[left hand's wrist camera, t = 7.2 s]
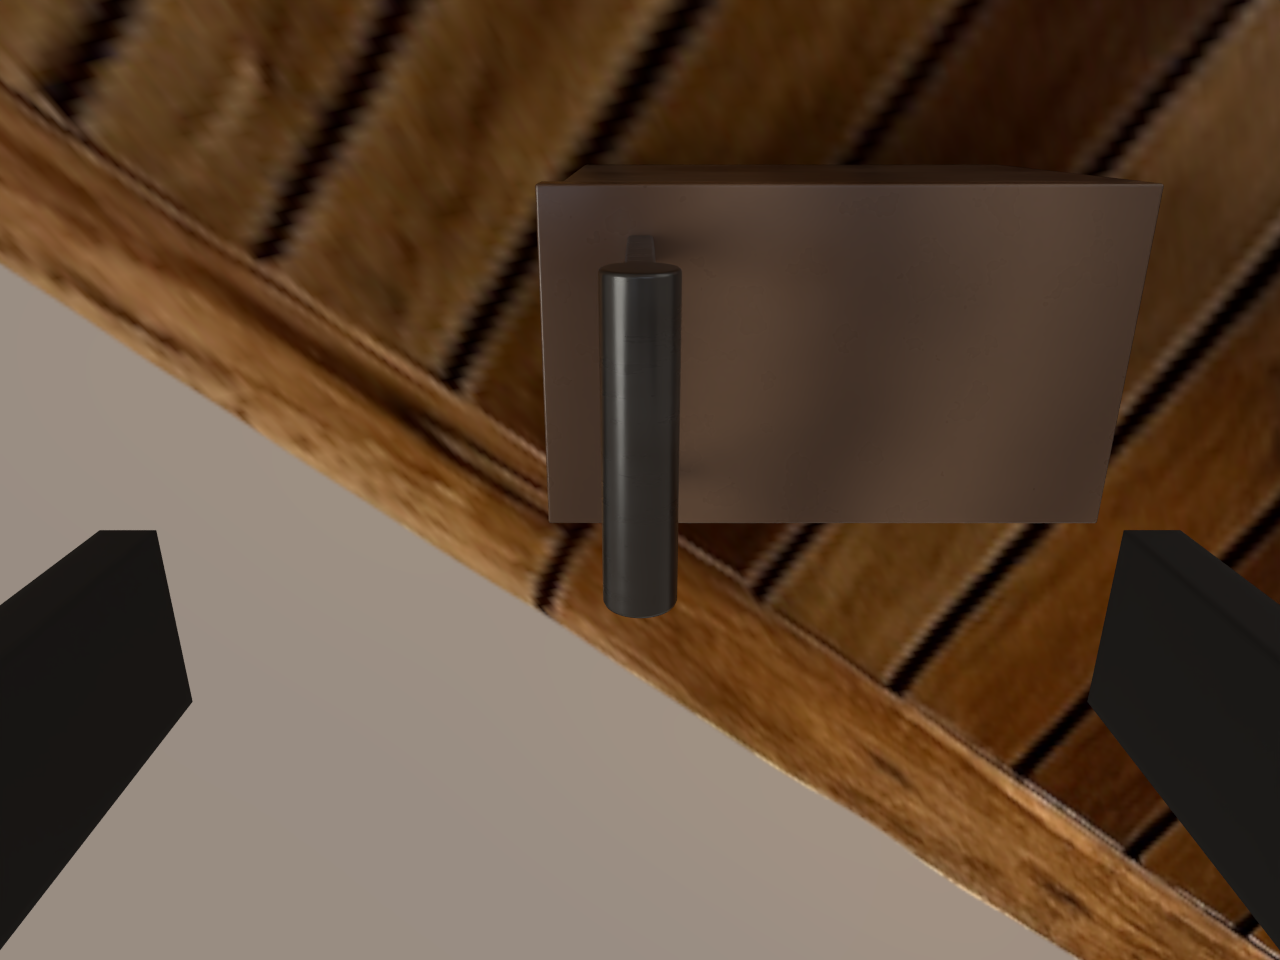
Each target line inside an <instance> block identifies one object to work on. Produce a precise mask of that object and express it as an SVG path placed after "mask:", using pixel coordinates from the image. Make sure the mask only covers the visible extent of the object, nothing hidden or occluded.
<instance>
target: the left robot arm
mask: <svg viewBox="0 0 1280 960" xmlns="http://www.w3.org/2000/svg"><path fill="white" fill-rule="evenodd" d="M191 703H192V697H191V692H190V688H189V683H188V678H187V673H186V669H185V664H184V659H183V655H182V650H181V645H180V640H179V636H178V631H177V626H176V621H175V617H174V612H173V607H172V603H171V598H170V593H169V588H168V584H167V579H166V574H165V570H164V565H163V560H162V555H161V551H160V546H159V541H158V537H157V532H156V530H100V531H98V532H97V533H96V534H94V535H93V536H92V537H90V538H89V539H88V540H86V541H85V542H84V543H82V544H81V545H80V546H78V547H77V548H76V549H74V550H73V551H72V552H70V553H69V554H68V555H66V556H65V557H64V558H62V559H61V560H60V561H58V562H57V563H56V564H54V565H53V566H52V567H50V568H49V569H48V570H46V571H45V572H44V573H43V574H41V575H40V576H38V577H37V578H36V579H35V580H33V581H32V582H31V583H29V584H28V585H27V586H25V587H24V588H22V589H21V590H20V591H18V592H17V593H16V594H14V595H13V596H12V597H11V598H9V599H8V600H7V601H5V602H4V603H3V604H1V605H0V950H1V948H2V947H3V946H4V944H5V943H6V942H7V941H8V939H9V938H10V937H11V935H12V934H13V933H14V932H15V930H16V929H17V928H18V926H19V925H20V924H21V923H22V921H23V920H24V919H25V917H26V916H27V915H28V913H29V912H30V911H31V910H32V908H33V907H34V906H35V904H36V903H37V902H38V901H39V899H40V898H41V897H42V895H43V894H44V893H45V891H46V890H47V889H48V888H49V886H50V885H51V884H52V882H53V881H54V880H55V879H56V877H57V876H58V875H59V873H60V872H61V871H62V870H63V868H64V867H65V866H66V864H67V863H68V862H69V860H70V859H71V858H72V857H73V855H74V854H75V853H76V851H77V850H78V849H79V848H80V846H81V845H82V844H83V842H84V841H85V840H86V839H87V837H88V836H89V835H90V833H91V832H92V831H93V829H94V828H95V827H96V826H97V824H98V823H99V822H100V820H101V819H102V818H103V817H104V815H105V814H106V813H107V811H108V810H109V809H110V808H111V806H112V805H113V804H114V802H115V801H116V800H117V799H118V797H119V796H120V795H121V793H122V792H123V791H124V790H125V788H126V787H127V786H128V784H129V783H130V782H131V780H132V779H133V778H134V776H135V775H136V774H137V773H138V771H139V770H140V769H141V767H142V766H143V765H144V764H145V762H146V761H147V760H148V759H149V757H150V756H151V755H152V753H153V752H154V751H155V749H156V748H157V747H158V746H159V744H160V743H161V742H162V740H163V739H164V738H165V737H166V735H167V734H168V733H169V731H170V730H171V729H172V728H173V726H174V725H175V724H176V722H177V721H178V720H179V718H180V717H181V716H182V715H183V713H184V712H185V711H186V709H187V708H188V707H189V706H190V704H191ZM1088 703H1089V704H1090V706H1091V707H1092V708H1093V709H1094V711H1095V712H1096V713H1097V715H1098V716H1099V717H1100V718H1101V720H1102V721H1103V722H1104V724H1105V725H1106V726H1107V728H1108V729H1109V730H1110V731H1111V733H1112V734H1113V735H1114V737H1115V738H1116V739H1117V740H1118V742H1119V743H1120V744H1121V746H1122V747H1123V748H1124V749H1125V751H1126V752H1127V753H1128V755H1129V756H1130V757H1131V759H1132V760H1133V761H1134V762H1135V764H1136V765H1137V766H1138V768H1139V769H1140V770H1141V771H1142V773H1143V774H1144V775H1145V777H1146V778H1147V779H1148V780H1149V782H1150V783H1151V784H1152V786H1153V787H1154V788H1155V790H1156V791H1157V792H1158V793H1159V795H1160V796H1161V797H1162V799H1163V800H1164V801H1165V802H1166V804H1167V805H1168V806H1169V808H1170V809H1171V810H1172V811H1173V813H1174V814H1175V815H1176V817H1177V818H1178V819H1179V820H1180V822H1181V823H1182V824H1183V826H1184V827H1185V828H1186V830H1187V831H1188V832H1189V833H1190V835H1191V836H1192V837H1193V839H1194V840H1195V841H1196V842H1197V844H1198V845H1199V846H1200V848H1201V849H1202V850H1203V851H1204V853H1205V854H1206V855H1207V857H1208V858H1209V859H1210V861H1211V862H1212V863H1213V864H1214V866H1215V867H1216V868H1217V870H1218V871H1219V872H1220V873H1221V875H1222V876H1223V877H1224V879H1225V880H1226V881H1227V882H1228V884H1229V885H1230V886H1231V888H1232V889H1233V890H1234V892H1235V893H1236V894H1237V895H1238V897H1239V898H1240V899H1241V901H1242V902H1243V903H1244V904H1245V906H1246V907H1247V908H1248V910H1249V911H1250V912H1251V913H1252V915H1253V916H1254V917H1255V919H1256V920H1257V921H1258V923H1259V924H1260V925H1261V926H1262V928H1263V929H1264V930H1265V932H1266V933H1267V934H1268V935H1269V937H1270V938H1271V939H1272V941H1273V942H1274V943H1275V944H1276V946H1277V947H1278V948H1279V950H1280V605H1279V604H1277V603H1276V602H1275V601H1273V600H1272V599H1271V598H1269V597H1268V596H1267V595H1266V594H1264V593H1263V592H1262V591H1260V590H1259V589H1258V588H1256V587H1255V586H1254V585H1252V584H1251V583H1250V582H1248V581H1247V580H1246V579H1244V578H1243V577H1242V576H1240V575H1239V574H1238V573H1236V572H1235V571H1234V570H1232V569H1231V568H1230V567H1228V566H1227V565H1226V564H1224V563H1223V562H1222V561H1220V560H1219V559H1218V558H1216V557H1215V556H1214V555H1212V554H1211V553H1210V552H1208V551H1207V550H1206V549H1204V548H1203V547H1202V546H1200V545H1199V544H1198V543H1196V542H1195V541H1194V540H1192V539H1191V538H1190V537H1188V536H1187V535H1186V534H1184V533H1183V532H1182V531H1180V530H1124V532H1123V537H1122V541H1121V546H1120V551H1119V555H1118V560H1117V565H1116V570H1115V574H1114V579H1113V584H1112V588H1111V593H1110V598H1109V603H1108V607H1107V612H1106V617H1105V621H1104V626H1103V631H1102V636H1101V640H1100V645H1099V650H1098V654H1097V659H1096V664H1095V669H1094V673H1093V678H1092V683H1091V688H1090V692H1089V697H1088Z"/></svg>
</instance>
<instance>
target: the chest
mask: <svg viewBox="0 0 1280 960" xmlns="http://www.w3.org/2000/svg"><path fill="white" fill-rule="evenodd" d="M563 182H1141V181H1134V180H1126V179H1117V178H1108V177H1100V176H1091V175H1082V174H1074V173H1065V172H1056V171H1047V170H1039V169H1030V168H1021V167H1013V166H1004V165H585V166H584V167H582V168H581V169H580V170H578V171H577V172H576V173H574V174H573V175H571V176H570V177H569V178H567V179H566V180H565V181H563Z"/></svg>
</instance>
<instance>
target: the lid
mask: <svg viewBox="0 0 1280 960" xmlns="http://www.w3.org/2000/svg"><path fill="white" fill-rule="evenodd" d="M535 188H536V214H537V239H538V264H539V289H540V314H541V339H542V364H543V389H544V414H545V439H546V464H547V489H548V514H549V522H550V523H602V552H603V600H604V603H605V605H606V606H607V608H608V609H609V610H611V611H612V612H614V613H616V614H619V615H621V616H625V617H631V618H649V617H655V616H659V615H662V614H664V613H666V612H668V611H669V610H671V609H672V608H673V607H674V605H675V603H676V601H677V566H678V523H1096V522H1097V518H1098V513H1099V508H1100V503H1101V498H1102V493H1103V488H1104V483H1105V478H1106V473H1107V468H1108V463H1109V458H1110V453H1111V448H1112V443H1113V438H1114V433H1115V428H1116V423H1117V418H1118V413H1119V408H1120V403H1121V397H1122V392H1123V387H1124V382H1125V377H1126V372H1127V367H1128V362H1129V357H1130V352H1131V347H1132V342H1133V337H1134V332H1135V327H1136V322H1137V317H1138V312H1139V307H1140V302H1141V297H1142V292H1143V287H1144V282H1145V277H1146V272H1147V267H1148V262H1149V257H1150V252H1151V247H1152V242H1153V237H1154V232H1155V227H1156V222H1157V217H1158V212H1159V207H1160V202H1161V197H1162V192H1163V184H1160V183H1151V182H540V183H538V184H536V186H535Z"/></svg>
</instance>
